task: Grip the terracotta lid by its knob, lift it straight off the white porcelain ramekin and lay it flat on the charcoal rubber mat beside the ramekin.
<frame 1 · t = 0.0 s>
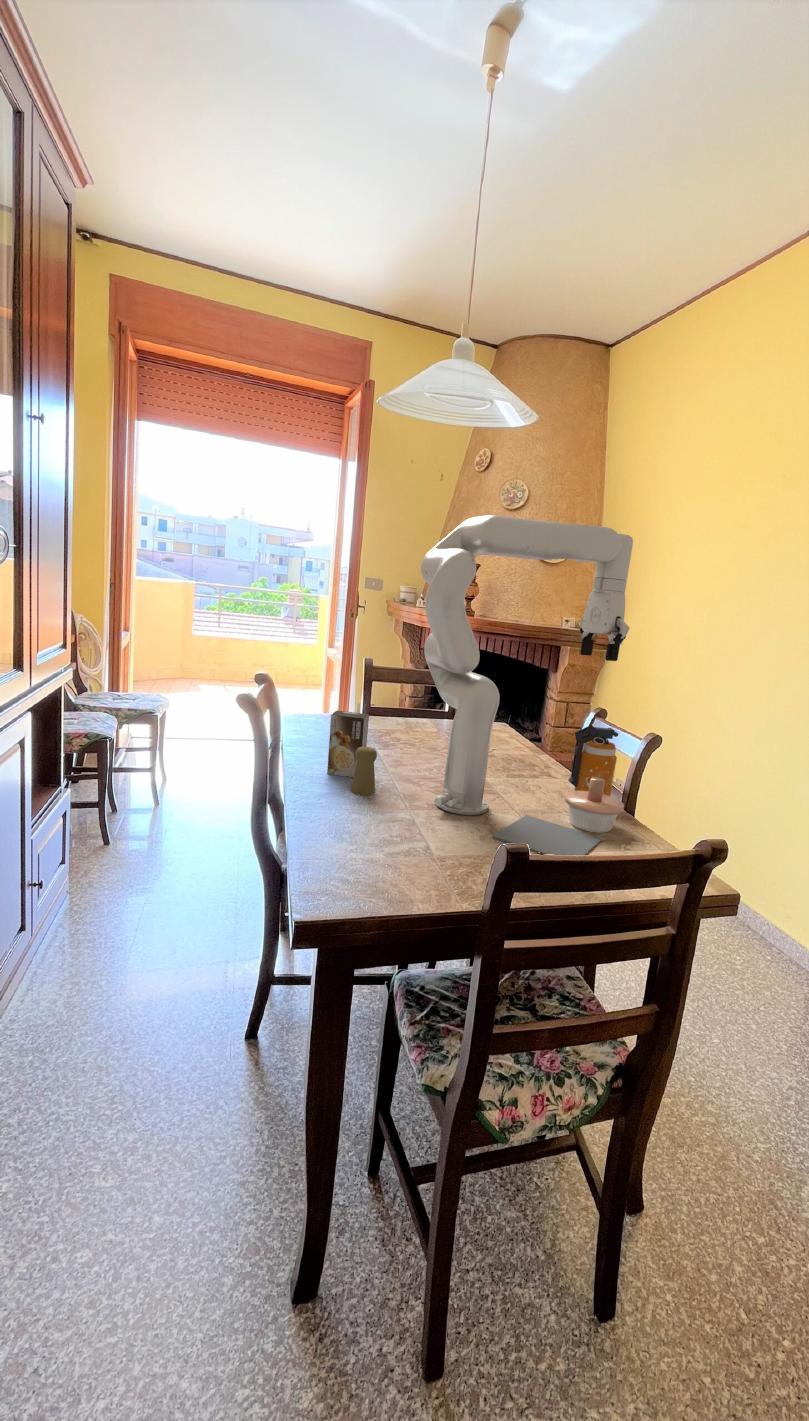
hand: (598, 657, 154), 37 cm above the table, tool pointing down, fingers open, 9 cm apart
coffee box: (345, 774, 166), on the table
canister: (586, 802, 163), on the table
ramekin: (590, 826, 145), on the table, touching lid
cork: (362, 792, 153), on the table
mat: (548, 838, 134), on the table
lid: (593, 804, 144), point 5 cm above the table, touching ramekin
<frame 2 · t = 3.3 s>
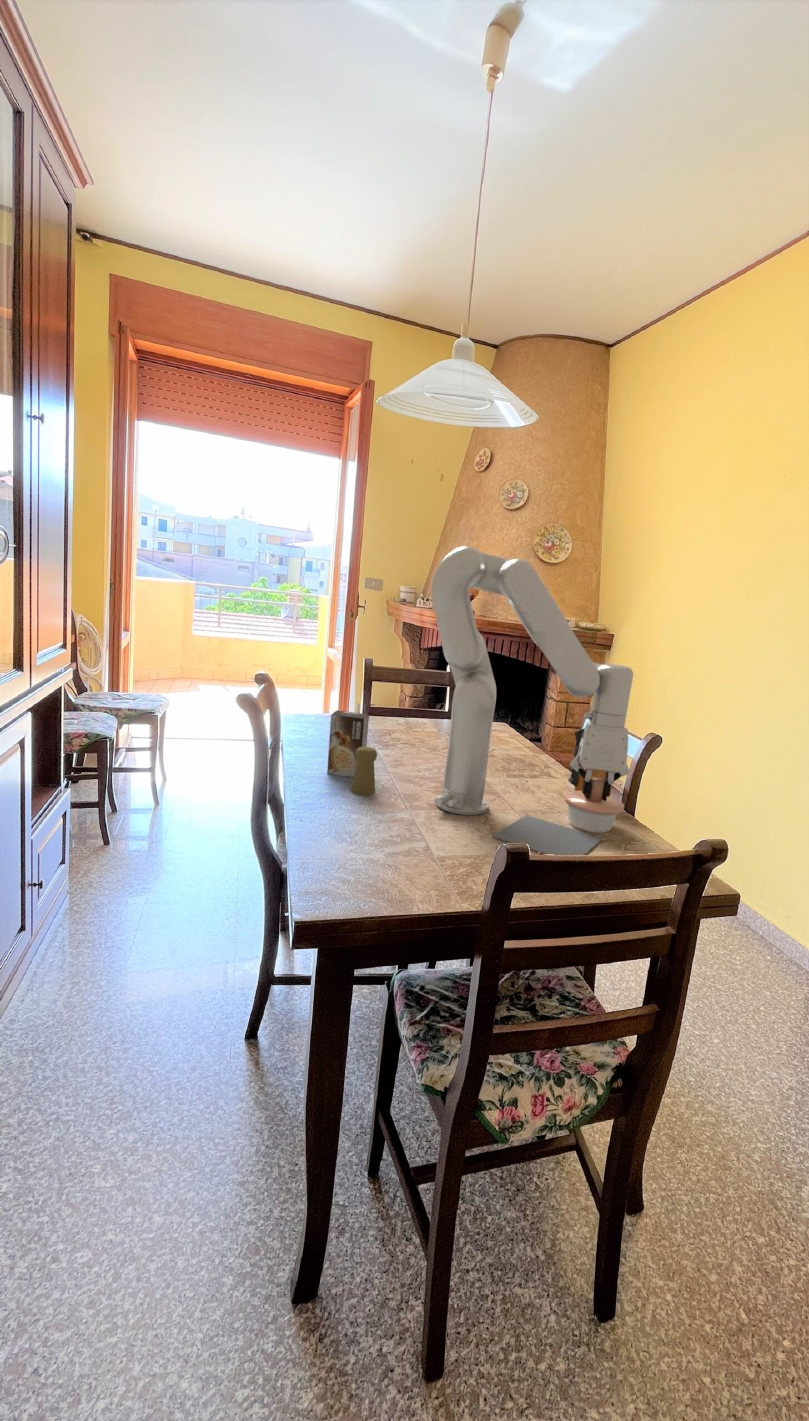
hand: (594, 797, 144), 7 cm above the table, tool pointing down, fingers closed on lid, 3 cm apart
lid: (593, 804, 144), point 5 cm above the table, touching gripper, ramekin
everything else where it was.
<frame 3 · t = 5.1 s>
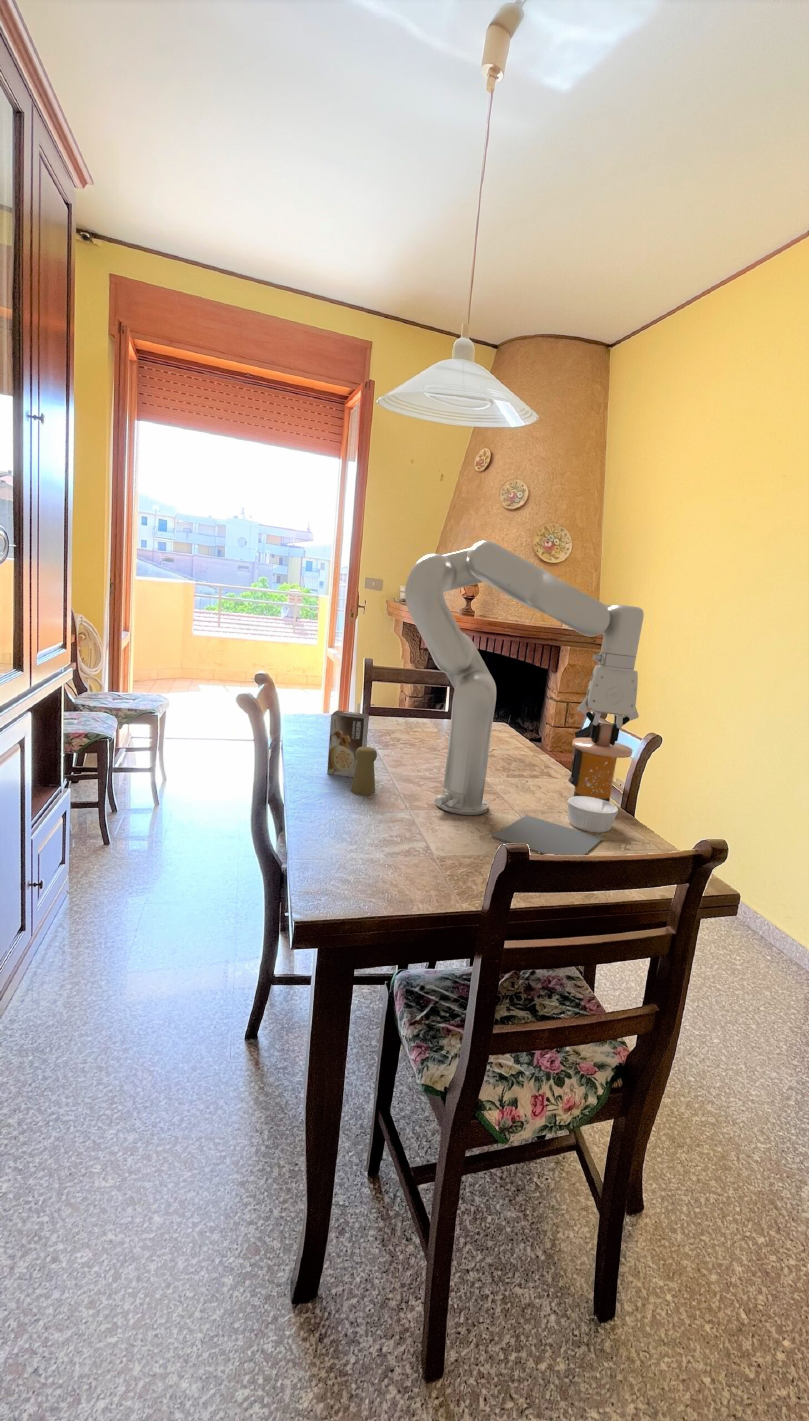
hand: (602, 742, 142), 20 cm above the table, tool pointing down, fingers closed on lid, 3 cm apart
ramekin: (589, 826, 145), on the table
lid: (601, 749, 142), point 18 cm above the table, touching gripper
everything else where it was.
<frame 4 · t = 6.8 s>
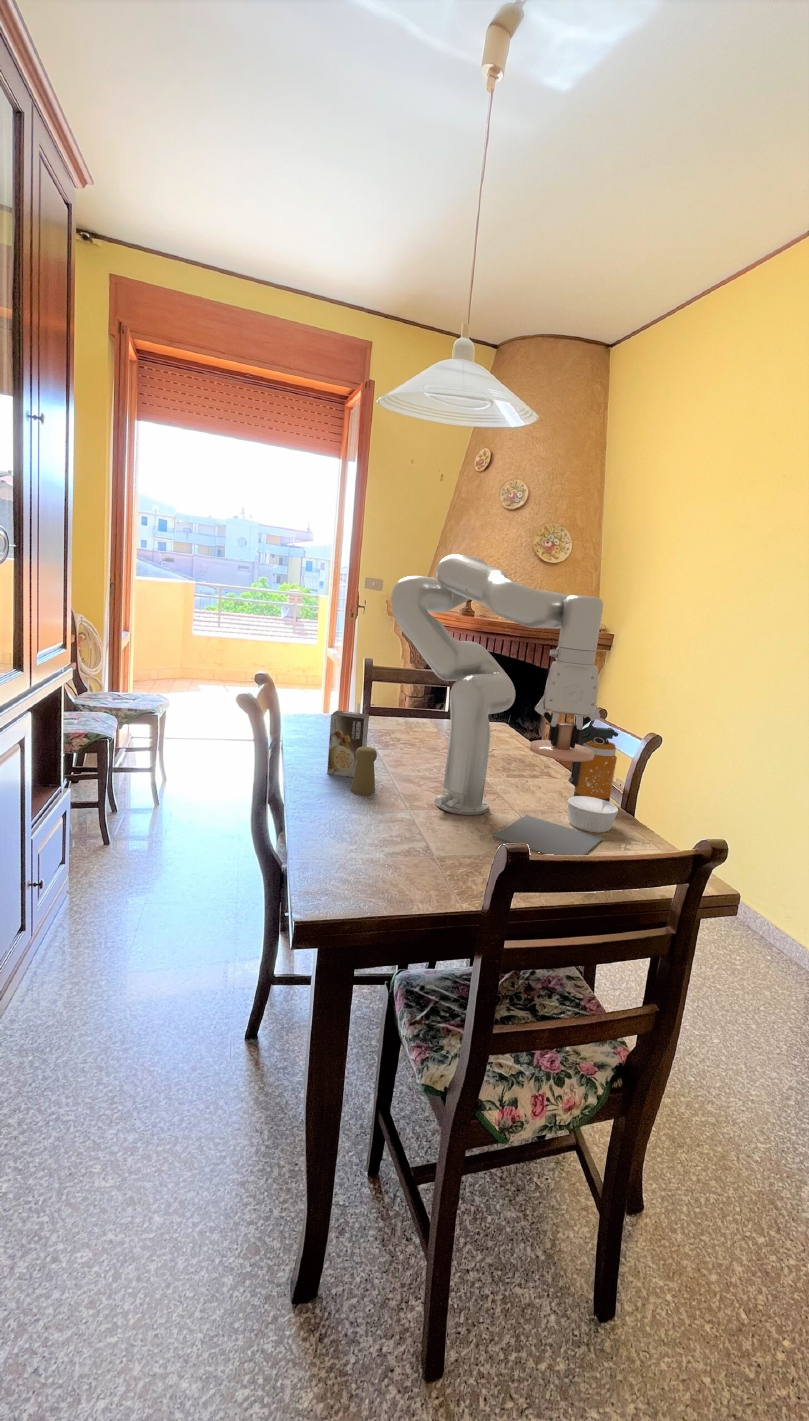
hand: (562, 744, 130), 21 cm above the table, tool pointing down, fingers closed on lid, 3 cm apart
lid: (561, 752, 131), point 19 cm above the table, touching gripper
everything else where it was.
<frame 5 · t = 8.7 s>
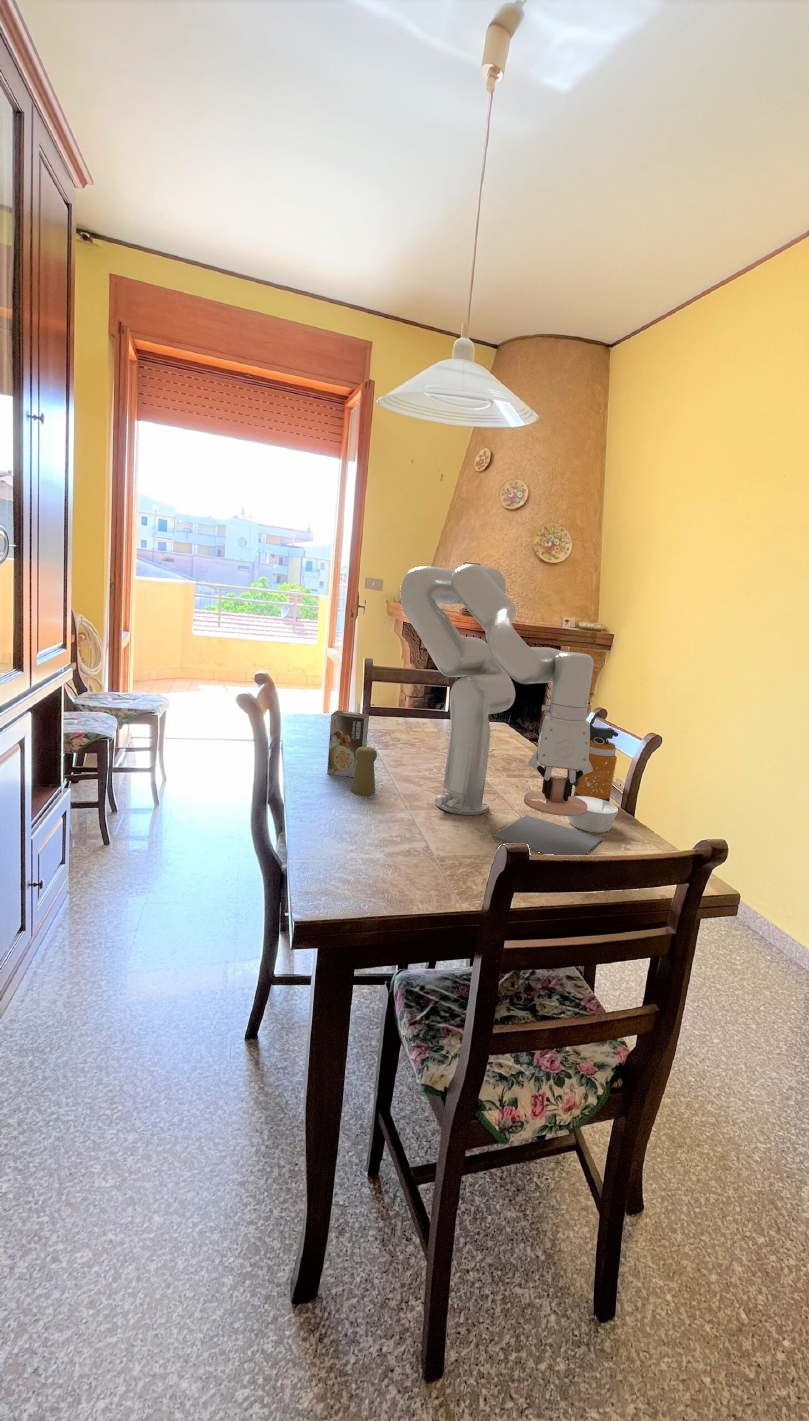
hand: (555, 797, 132), 9 cm above the table, tool pointing down, fingers closed on lid, 3 cm apart
lid: (555, 805, 132), point 8 cm above the table, touching gripper
everything else where it was.
when the fingers open (4 cm above the table, at t = 10.1 s): lid drops 2 cm, resting on mat.
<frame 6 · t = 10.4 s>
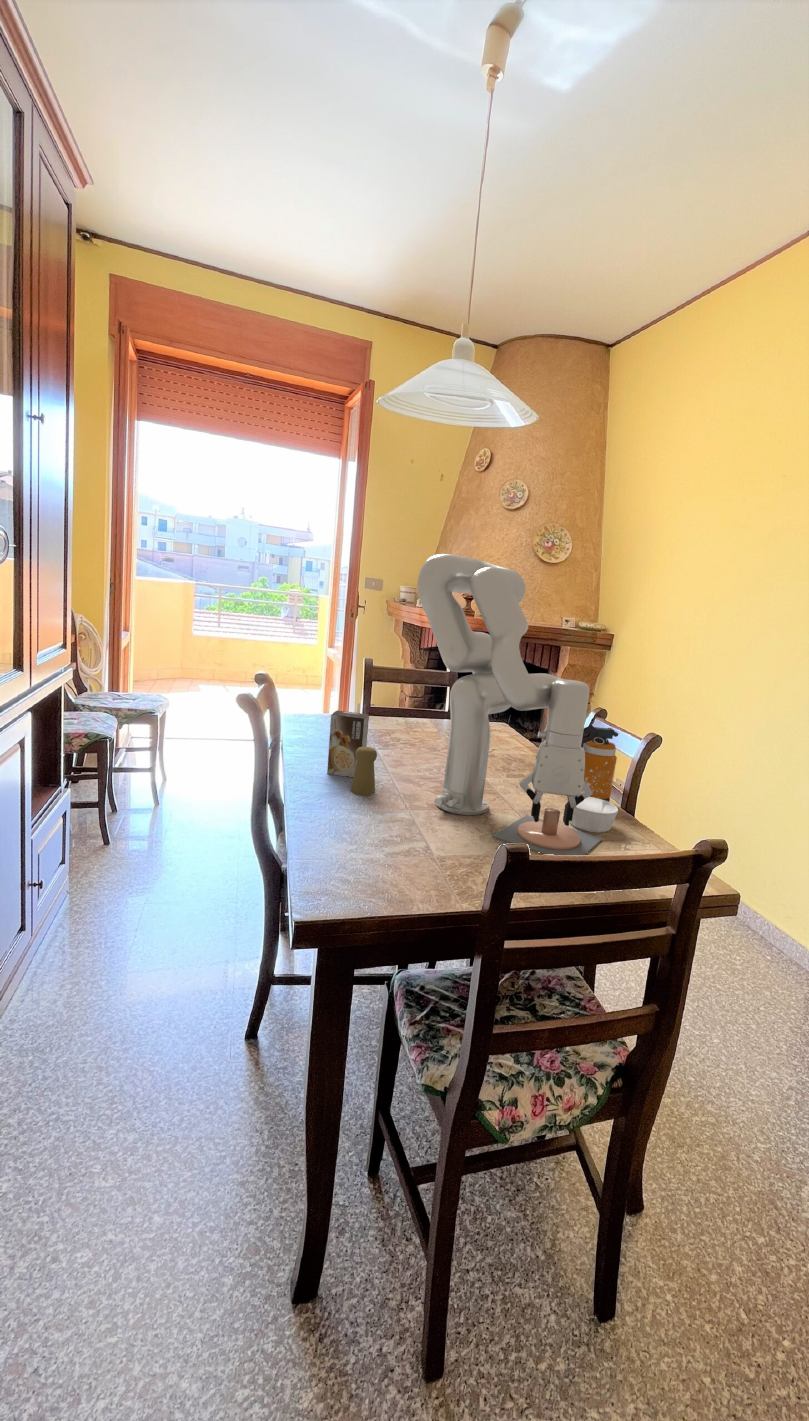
hand: (550, 820, 134), 4 cm above the table, tool pointing down, fingers open, 5 cm apart
lid: (548, 837, 134), resting on mat
everything else where it was.
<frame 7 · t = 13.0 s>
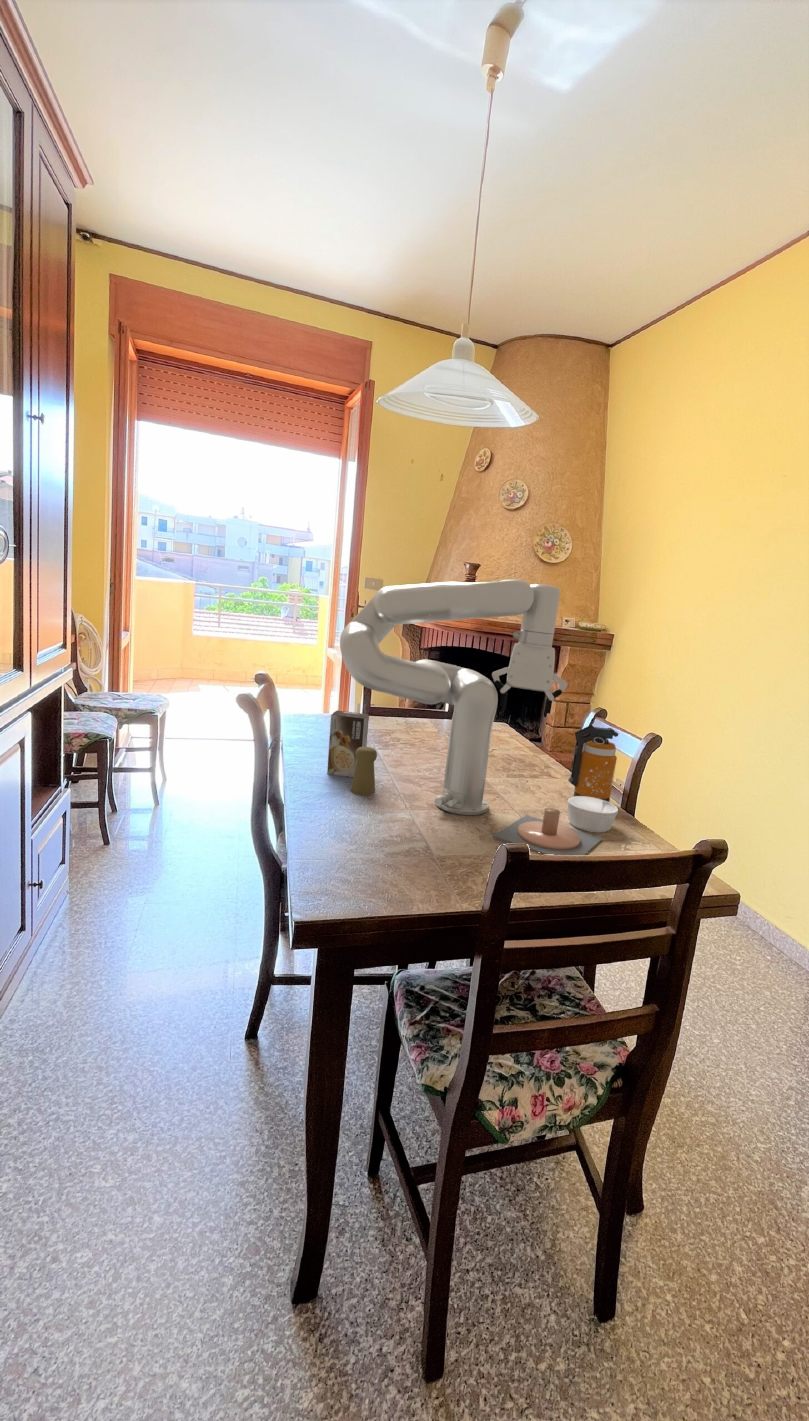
hand: (523, 712, 146), 24 cm above the table, tool pointing down, fingers open, 9 cm apart
nothing on the table moved.
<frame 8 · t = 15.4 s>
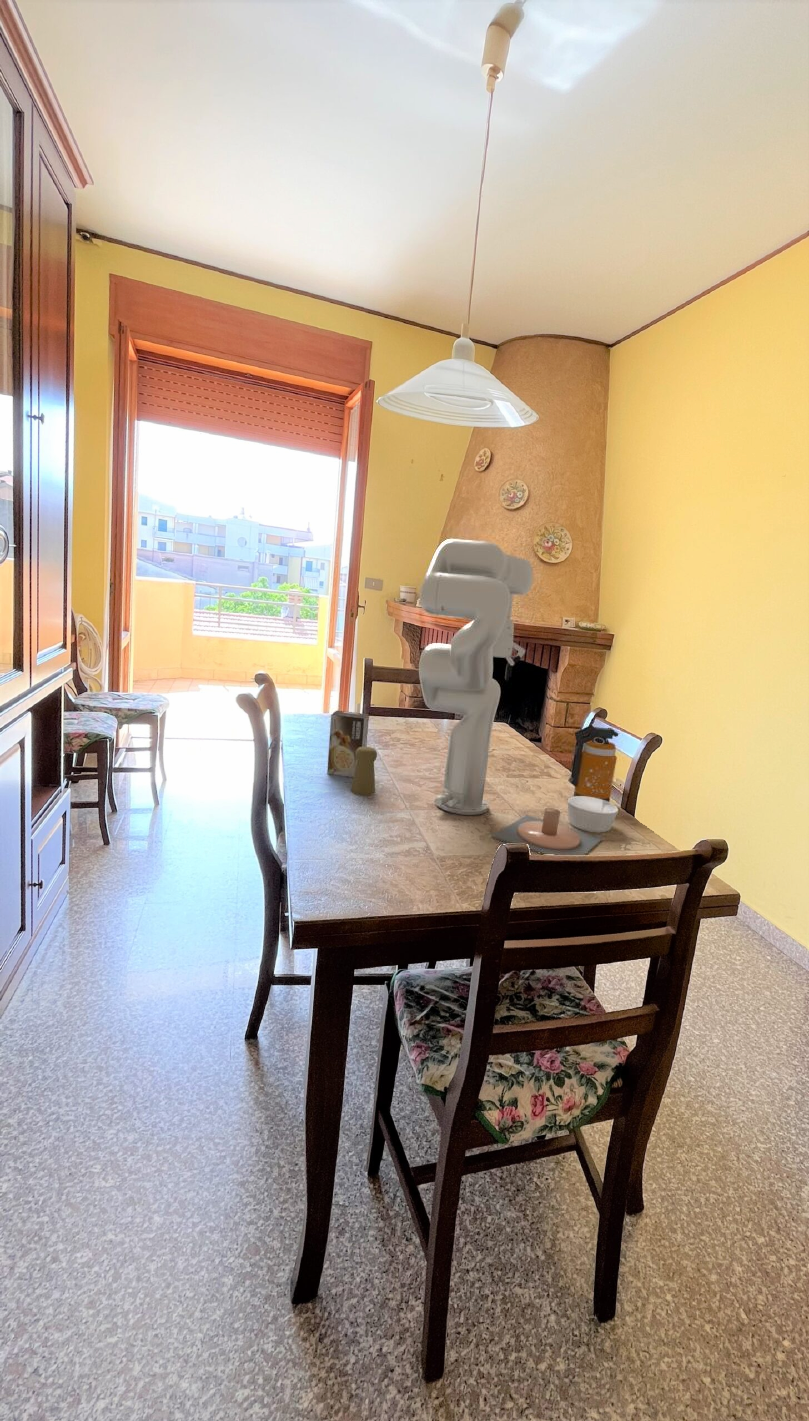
hand: (488, 677, 166), 28 cm above the table, tool pointing down, fingers open, 9 cm apart
nothing on the table moved.
at the end: lid inside the target area on the mat (0.1 cm from its centre), point 0.4 cm above the mat's base; lid tilted 0°; ramekin moved 0.4 cm from its start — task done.
